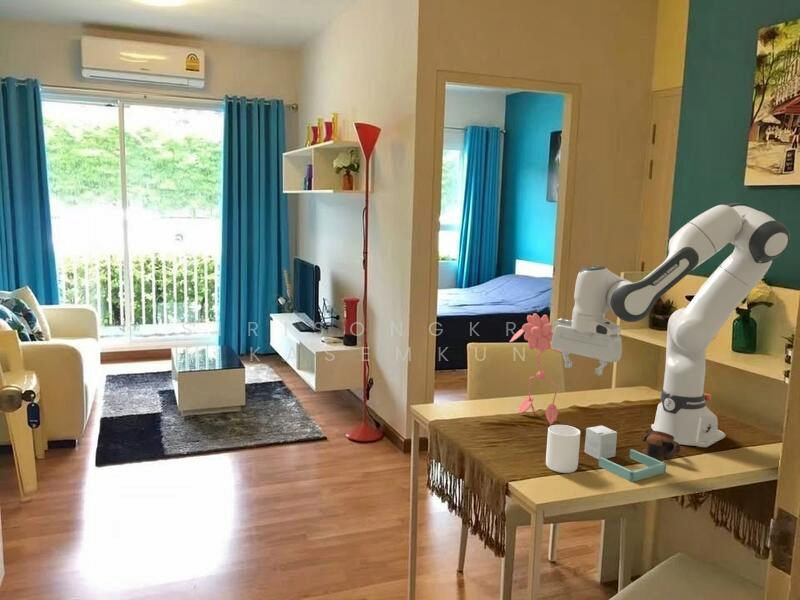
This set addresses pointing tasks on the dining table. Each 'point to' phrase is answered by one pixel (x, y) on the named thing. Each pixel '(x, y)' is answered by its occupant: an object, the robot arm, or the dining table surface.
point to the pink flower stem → (539, 339)
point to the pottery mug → (660, 445)
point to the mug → (562, 448)
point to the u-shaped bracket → (652, 470)
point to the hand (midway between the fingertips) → (583, 370)
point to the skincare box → (600, 442)
